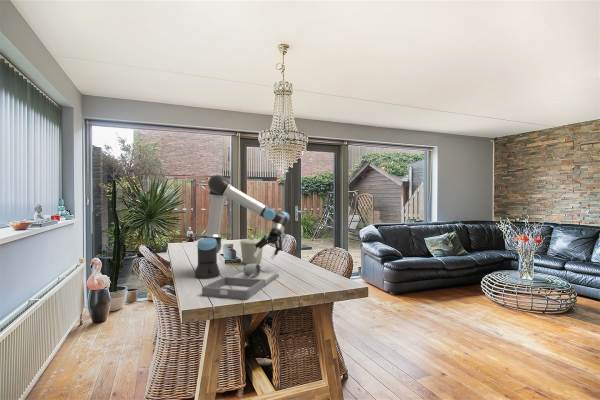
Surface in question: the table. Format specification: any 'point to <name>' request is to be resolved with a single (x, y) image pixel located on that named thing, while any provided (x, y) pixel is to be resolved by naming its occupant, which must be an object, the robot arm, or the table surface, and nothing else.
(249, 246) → the canister
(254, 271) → the ceramic mug
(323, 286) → the table surface
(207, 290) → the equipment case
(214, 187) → the robot arm
